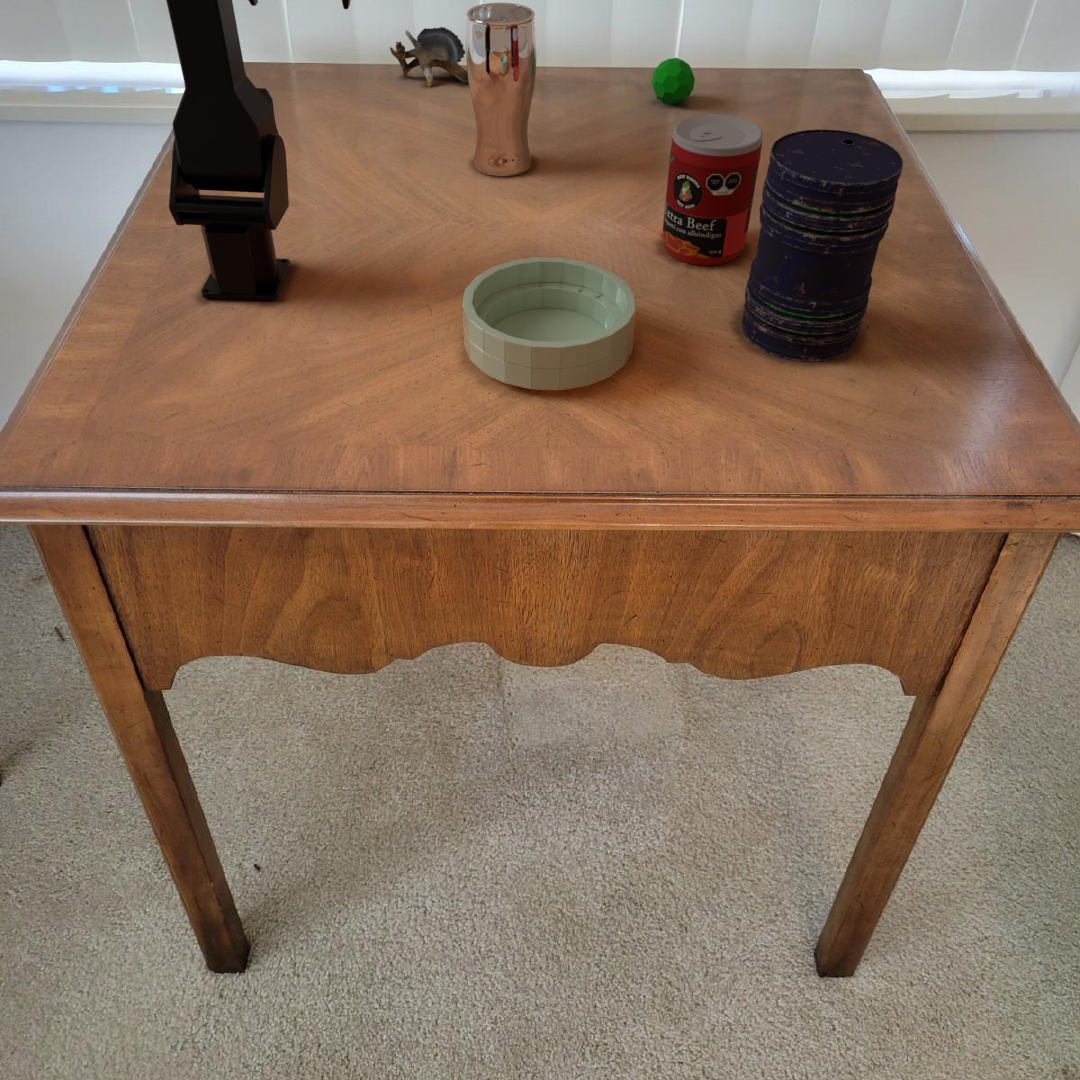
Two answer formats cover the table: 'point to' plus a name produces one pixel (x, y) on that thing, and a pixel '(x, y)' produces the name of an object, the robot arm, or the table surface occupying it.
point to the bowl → (548, 323)
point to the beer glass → (501, 84)
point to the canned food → (710, 188)
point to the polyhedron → (673, 81)
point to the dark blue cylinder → (818, 242)
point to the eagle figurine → (433, 53)
